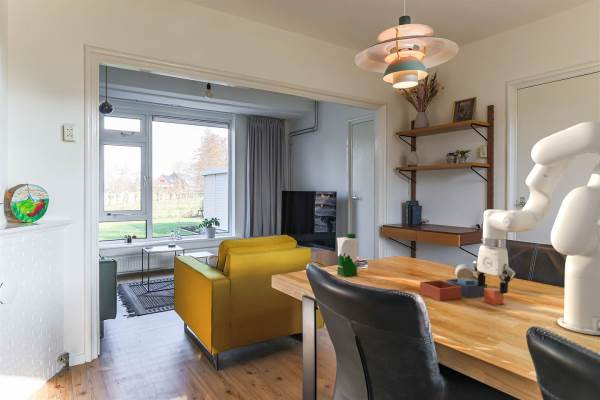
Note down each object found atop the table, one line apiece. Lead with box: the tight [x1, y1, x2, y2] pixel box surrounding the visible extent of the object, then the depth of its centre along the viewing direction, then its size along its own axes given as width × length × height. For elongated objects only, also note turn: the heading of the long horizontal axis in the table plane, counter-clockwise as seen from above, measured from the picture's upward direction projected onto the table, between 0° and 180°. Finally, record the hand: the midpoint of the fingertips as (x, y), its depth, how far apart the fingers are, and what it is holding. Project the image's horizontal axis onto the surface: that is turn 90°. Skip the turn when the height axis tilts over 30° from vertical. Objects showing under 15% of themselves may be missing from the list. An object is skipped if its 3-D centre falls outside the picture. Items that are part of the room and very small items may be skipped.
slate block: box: [456, 278, 474, 286], centre depth 147 cm, size 4×4×5 cm
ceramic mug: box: [454, 263, 478, 282], centre depth 164 cm, size 11×8×8 cm
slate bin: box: [445, 278, 488, 299], centre depth 146 cm, size 11×10×4 cm
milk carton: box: [336, 233, 359, 278], centre depth 178 cm, size 9×9×20 cm
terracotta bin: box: [419, 279, 462, 302], centre depth 142 cm, size 11×10×4 cm
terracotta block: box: [483, 287, 504, 306], centre depth 133 cm, size 4×4×5 cm
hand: (491, 289), depth 134 cm, fingers open, 9 cm apart
